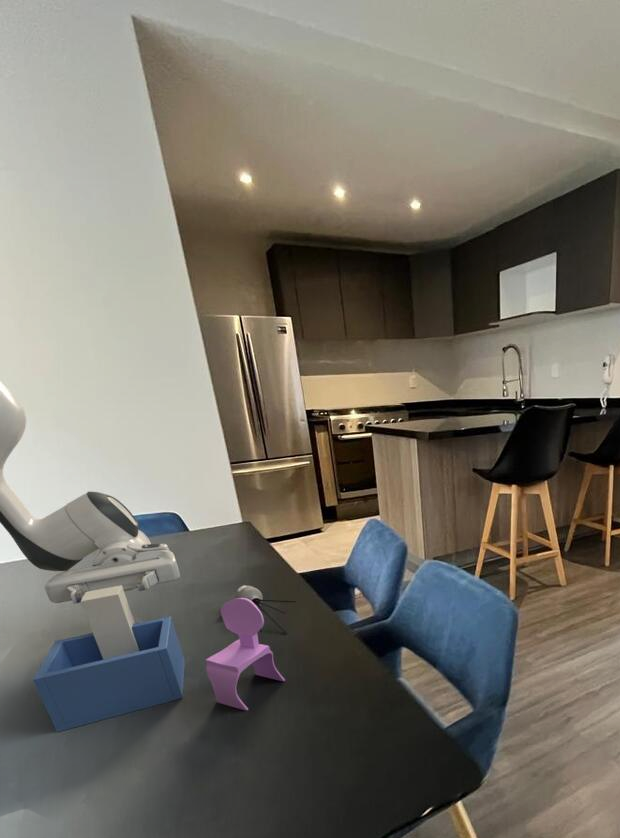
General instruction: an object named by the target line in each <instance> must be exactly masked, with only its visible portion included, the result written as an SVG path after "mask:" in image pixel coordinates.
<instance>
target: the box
mask: <svg viewBox="0 0 620 838" xmlns="http://www.w3.org/2000/svg"><path fill="white" fill-rule="evenodd" d="M132 631H133V634H134V636H135V639H136V642H137V645H138V648H139V652H135V653H130V654H126V655H122V656H118V657H113V658H109V659H105V660H103V658H102V655H101V653H100V650H99V647H98V645H97V642H96V640H95V637H94V635H93V632H91V633H85V634H81V635H76V636H71V637H68V638H63V639H58V640H55V641H54V642H53V644H52V646H51V648H50V649H49V651H48V653H47V655H46V656H45V658H44V660H43V662H42V663H41V664H40V667H39V669H38V670H37V672H36V674H35V675H34V677H33V679H32V681H33V683H34V686H35V688H36V690H37V692H38V694H39V696H40V699H41V701H42V703H43V705H44V708H45V710H46V711H47V714H48V716H49V718H50V720H51V722H52V724H53V727H54V729H55V731H56V733H59V732H63V731H66V730H71V729H75V728H78V727H81V726H85V725H89V724H93V723H96V722H100V721H103V720H107V719H110V718H111V719H112V718H114V717H118V716H122V715H126V714H130V713H133V712H136V711H140V710H144V709H147V708H151V707H154V706H158V705H162V704H166V703H169V702H173V701H176V700H180V699H183V698H184V682H185V668H186V667H185V666H186V659H185V657H184V654H183V650H182V647H181V644H180V641H179V637H178V635H177V632H176V628H175V624H174V622H173V619H172V616H170V615H169V616H165V617H159V618H156V619H151V620H146V621H142V622H135V624H133V625H132Z"/></svg>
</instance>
